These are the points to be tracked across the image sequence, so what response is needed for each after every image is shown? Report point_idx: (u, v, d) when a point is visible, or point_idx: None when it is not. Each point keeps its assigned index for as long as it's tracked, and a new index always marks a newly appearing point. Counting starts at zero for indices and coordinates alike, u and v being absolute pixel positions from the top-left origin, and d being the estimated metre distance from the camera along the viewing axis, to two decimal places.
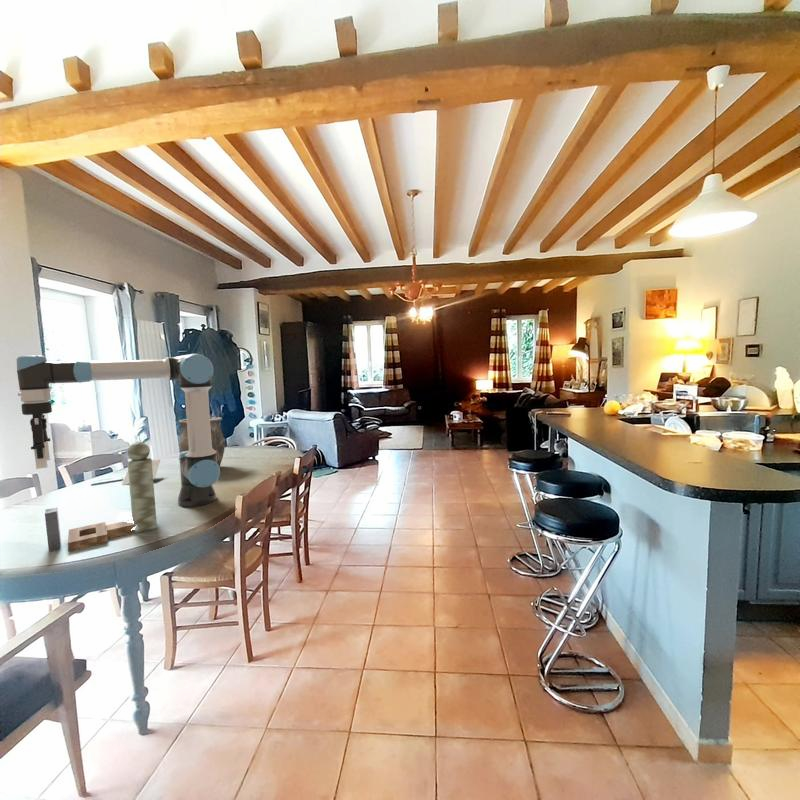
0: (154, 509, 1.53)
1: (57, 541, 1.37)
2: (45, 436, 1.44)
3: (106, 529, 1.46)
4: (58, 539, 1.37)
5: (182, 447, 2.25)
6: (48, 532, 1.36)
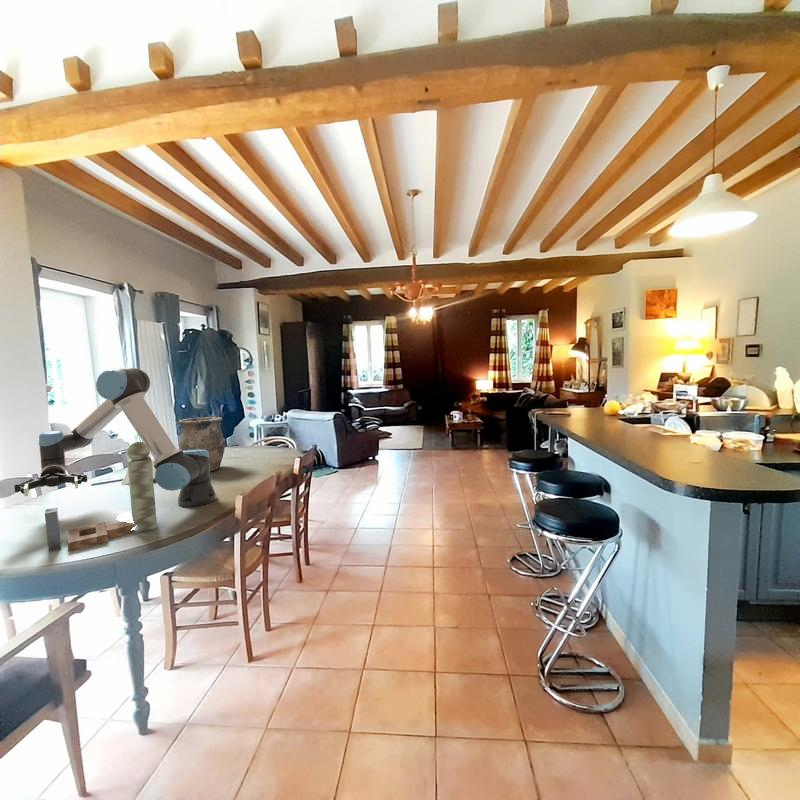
0: (154, 509, 1.53)
1: (57, 541, 1.37)
2: (72, 477, 1.54)
3: (106, 529, 1.46)
4: (58, 539, 1.37)
5: (182, 447, 2.25)
6: (48, 532, 1.36)
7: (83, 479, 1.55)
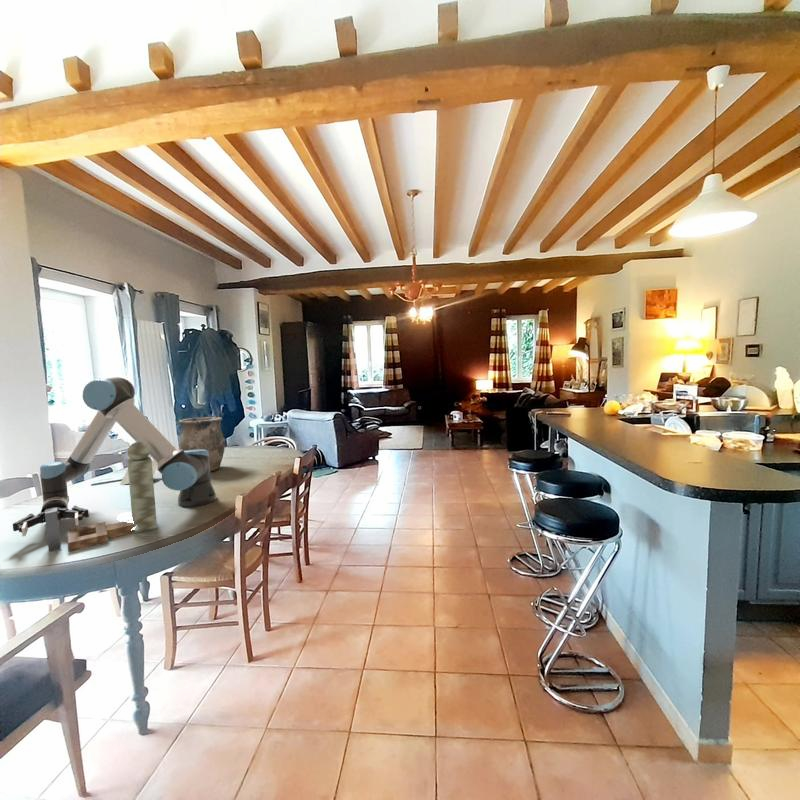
0: (154, 509, 1.53)
1: (57, 541, 1.37)
2: (73, 512, 1.48)
3: (106, 529, 1.46)
4: (58, 539, 1.37)
5: (182, 447, 2.25)
6: (48, 532, 1.36)
7: (84, 514, 1.49)
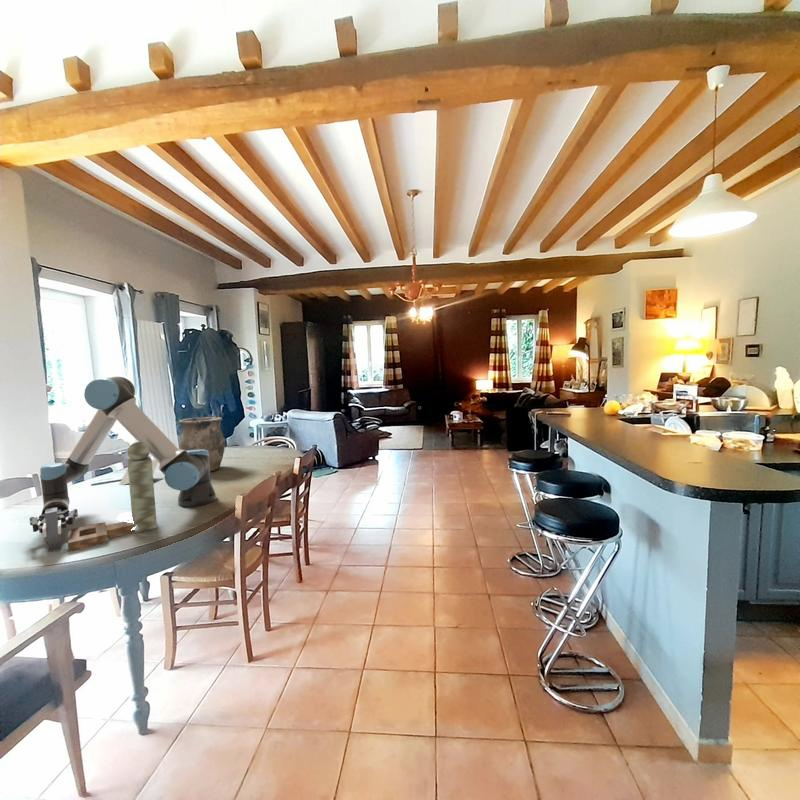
0: (154, 509, 1.53)
1: (57, 541, 1.37)
2: (60, 518, 1.42)
3: (106, 529, 1.46)
4: (58, 539, 1.37)
5: (182, 447, 2.25)
6: (48, 532, 1.36)
7: (68, 522, 1.42)
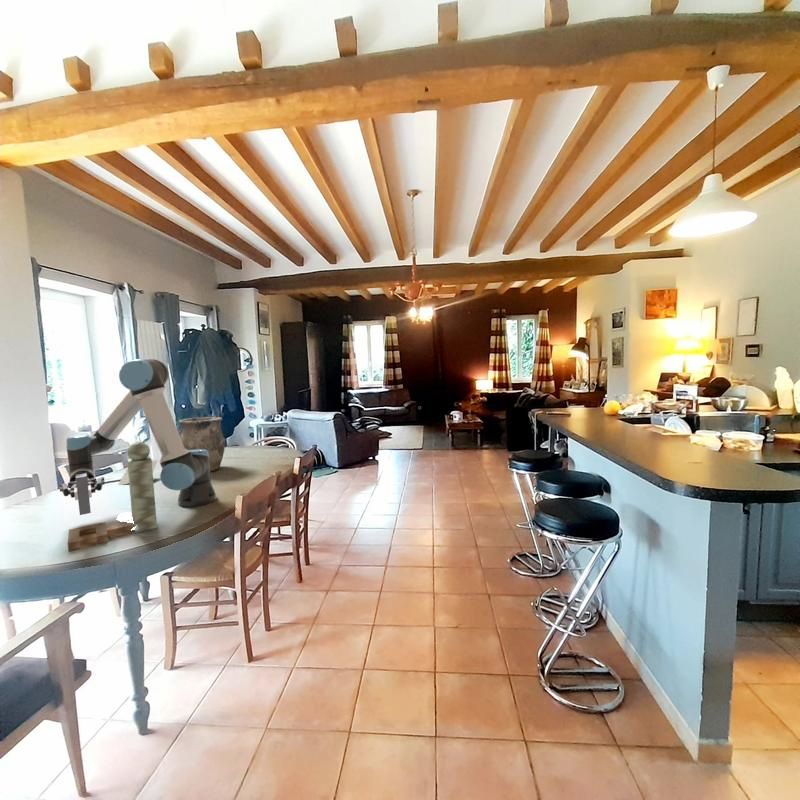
0: (154, 509, 1.53)
1: (87, 505, 1.41)
2: (89, 484, 1.46)
3: (106, 529, 1.46)
4: (88, 503, 1.42)
5: None
6: (79, 496, 1.40)
7: (97, 487, 1.46)
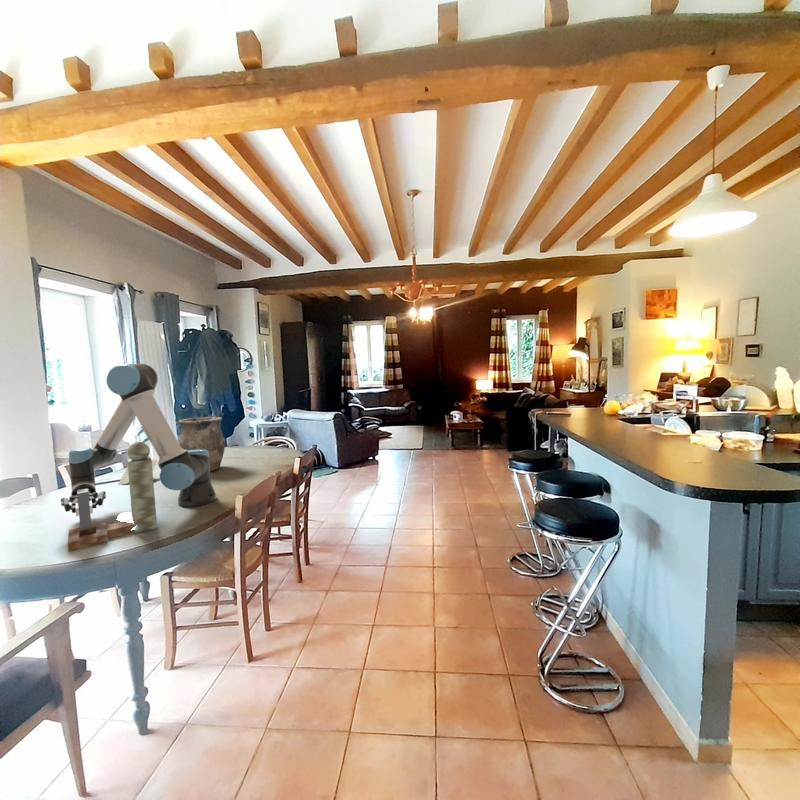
0: (154, 509, 1.53)
1: (88, 520, 1.42)
2: (90, 499, 1.47)
3: (106, 529, 1.46)
4: (89, 519, 1.42)
5: (182, 447, 2.25)
6: (80, 512, 1.41)
7: (98, 503, 1.47)
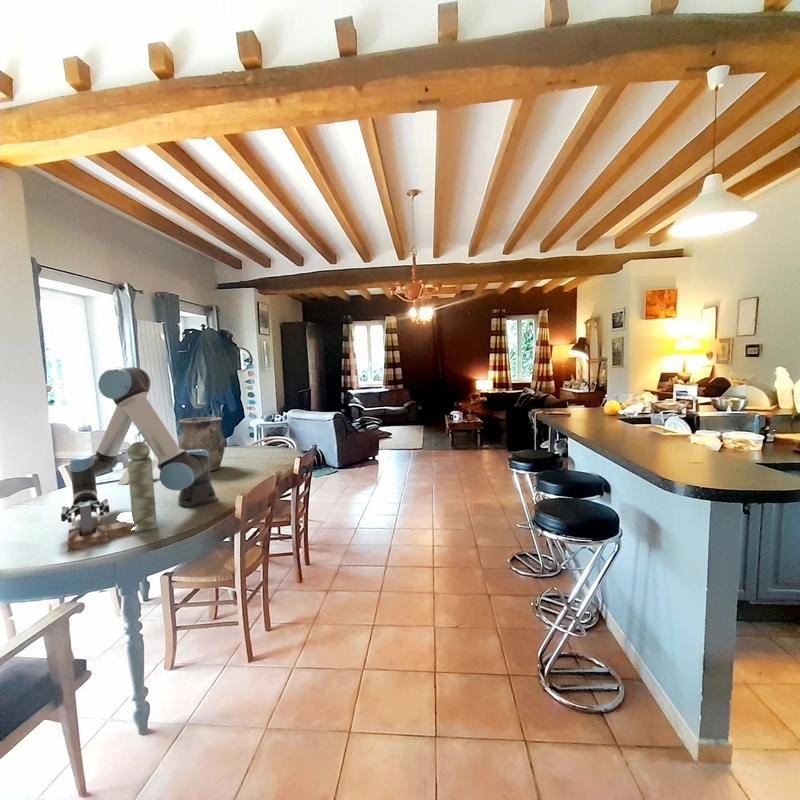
0: (154, 509, 1.53)
1: (91, 533, 1.43)
2: (96, 507, 1.48)
3: (106, 529, 1.46)
4: (92, 532, 1.43)
5: (182, 447, 2.25)
6: (82, 525, 1.41)
7: (105, 510, 1.48)
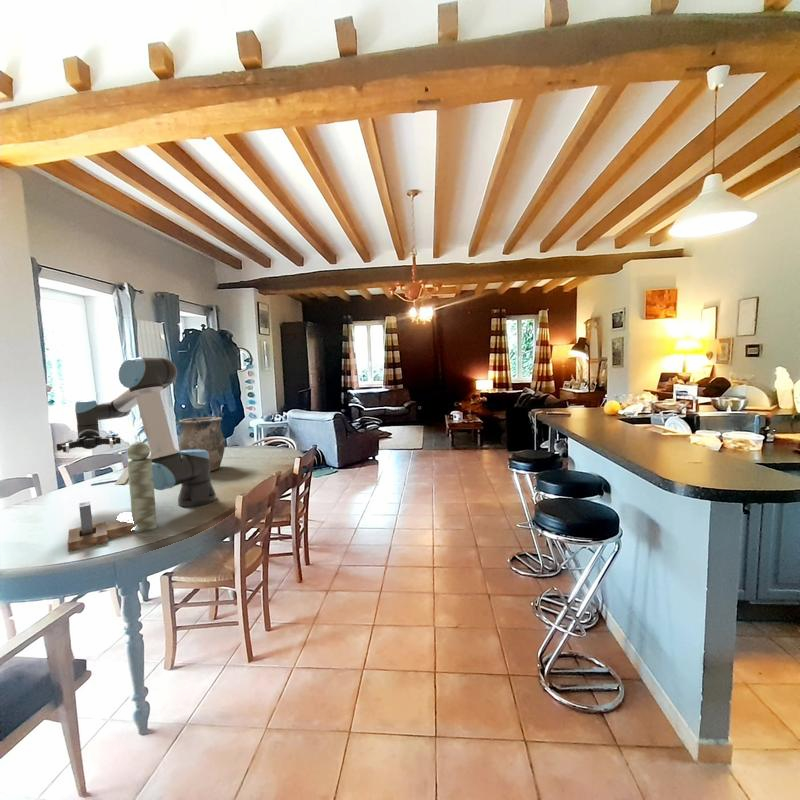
0: (154, 509, 1.53)
1: (91, 533, 1.43)
2: (107, 439, 1.67)
3: (106, 529, 1.46)
4: (91, 532, 1.43)
5: (182, 447, 2.25)
6: (82, 525, 1.41)
7: (117, 441, 1.68)
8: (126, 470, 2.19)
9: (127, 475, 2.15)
